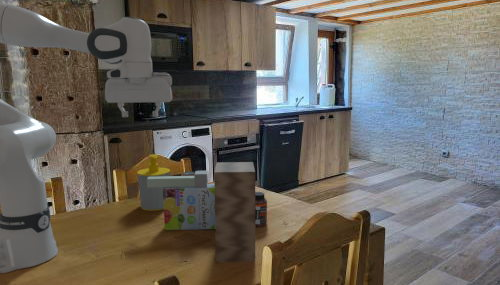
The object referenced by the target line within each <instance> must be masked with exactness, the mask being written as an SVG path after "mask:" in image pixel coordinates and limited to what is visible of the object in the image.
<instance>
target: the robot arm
mask: <svg viewBox="0 0 500 285" xmlns="http://www.w3.org/2000/svg"><path fill="white" fill-rule="evenodd" d="M150 30H151V29H150V27H149V24H148V23H147V22H145V21H144V20H142V19H141V18H137V17H132V16H124V17H121V19H119V20H118V21H117V22H114V23H112V24H110V25H106V26H103V27H99V28H95V29H93V30H92V31H91V32H85V31H80V30H76V29H73V28H72V29H71V28H68V27H65V26H63V25H60V24H58V23H56V22H54V21H52V20H50V19H49V18H47V17H45V16H43V15H42V14H40V13H37V12H35V11H32V10H31V9H27V8H24V7H21V6H17V5H12V4H8V3H2V2H0V44H5V45H9V46H16V47H24V48H25V47H26V48H59V49H65V50H66V49H67V50H72V51H76V52H81V53H86V54H90V55H92V56H93V57H95V58H96V59H98V60H100V61H101V62H102V61H103V62H105V63H106V64H110V65H117V64H121V63H122V64H121V65H122V66H120V67H118V68H114V69H111V70H108V71H107V72H106V77H107V80H106V81H105V86H104V98H105V99H104V100H105V101H106V102H107V103H111V104H113V103H116V104H117V107H118V109H119V110H120V112H121V117H122V118H128V117H129V111H128V110H127V111H126V109H125V107H124V106H125V103H155V106H156V109H155V110H153V111H152V118H158V117H159V111H160V109H161V107H162V103H170V102H172V101H173V90H172V85H173V77H172V76H171V75H170V73H168V72H153V60H152V57H151V54H152V36H151V31H150ZM56 144H57V134H56V132H55V130H54V128H53V127H52V126H51V125H49V124H48V123H47V122H44V121H40V120H37V119H35V118H34V117H31V116H29V115H28V114H26V113H25V112H22V111H21V110H19V109H17V108H16V107H15V106H12V105H11V104H9V103H7V102H6V101H5V100H3V99H2V98H0V210H1V213H0V274H5V273H10V272H13V271H17V270H21V269H25V268H31V267H34V266H38V265H41V264H43V263H45V262H47V261H49V260H51V259H53V258H54V257H56V256H57V254H58V253H59V249H58V248H59V247H58V246H57V241H56V239H55V237H54V234H53V229H52V224H51V221H50V220H51V210H50V206H49V205H48V200H47V191H46V190H47V189H46V182H45V180H44V179H43V178H42V177H41V176H38V175H37V173H36V172H35V170H34V167H33V165H32V160H34V159H35V160H36V159H37V158H40V157H42V156H45V154H47V153H49V152H50V151H51V150H52V149H54V147H55V145H56Z"/></svg>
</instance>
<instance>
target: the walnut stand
mask: <svg viewBox="0 0 500 285" xmlns="http://www.w3.org/2000/svg"><path fill="white" fill-rule="evenodd" d="M214 167H215V168H214V174H213V176H214V177H213V178H214V179H213V180H214V184H215V229H214V230H215V263H245V262H246V263H249V262H256V226H255V192H256V170H255V169H256V168H255V165H254V162H253V161H238V162H237V161H236V162H235V161H230V162H229V161H227V162H224V161H222V162H218V161H217V162H216V163H215V166H214Z"/></svg>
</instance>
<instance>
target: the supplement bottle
mask: <svg viewBox="0 0 500 285" xmlns="http://www.w3.org/2000/svg"><path fill="white" fill-rule="evenodd" d="M267 218H268V201H267V199H266V198H265V193H264V192H262V191H255V227H256V228H257V227H264V226H266V225H267V223H268V222H267V221H268V219H267Z"/></svg>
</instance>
